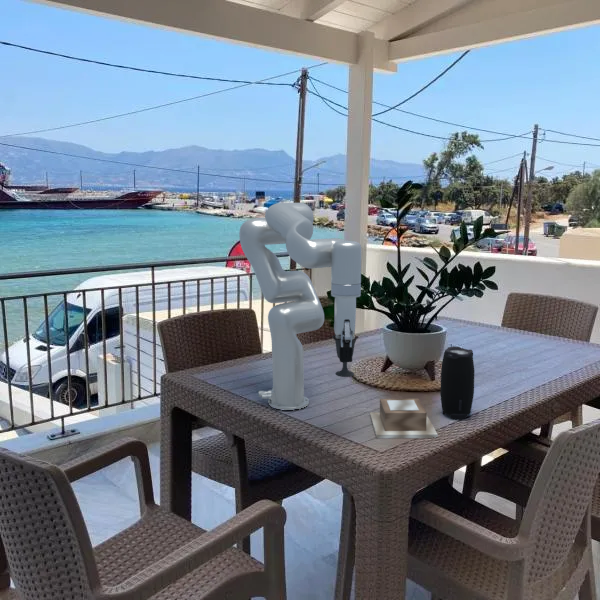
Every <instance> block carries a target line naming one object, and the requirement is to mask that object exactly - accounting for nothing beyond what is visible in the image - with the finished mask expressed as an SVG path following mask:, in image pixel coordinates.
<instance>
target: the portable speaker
mask: <svg viewBox="0 0 600 600" xmlns="http://www.w3.org/2000/svg"><path fill="white" fill-rule="evenodd" d="M440 368H441V371H440V402H441V404H440V405H441V409H442V415H443V416H445V415H447V416H449V418H450V419H452V420H454V419H455V421H457V419H459V420H458V421H462V419H463V420H466V418H467V417H468V416H469V415H471V412H472V408H473V401H474V396H475V365H474V353H473V350H472V349H466V348H463V347H460V346H454V345H453V346H450V347H447V348H446V349H445V350H444V353H443V357H442V362H441V367H440Z"/></svg>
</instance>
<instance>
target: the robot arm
mask: <svg viewBox="0 0 600 600" xmlns="http://www.w3.org/2000/svg"><path fill="white" fill-rule="evenodd" d="M314 220H315V219H314V212H313V210H312V208H311V207H310V206H309V205H308V204H307V203H303V202H278V203H274V204H272V205H270V206H269V207H268V208H267V209H266V211H265V214H264V217H253V218H250V219H247V220H245V221H244V222H243V223H242V224H241V226H240V228H239V243H240V246H241V250H242V252H243V254H244V256H245V257H246V259H247V260H248V262H249V264H250V265H251V267H252V269H253V271H254V273H255V277H256V280H257V282H258V285H259V287H260V291H261V294H262V296H263V298H264V299H265V300H266V302H268V303H270V304H276V305H274V306H273V307H271V308H270V310H269V312H268V313H267V314H268V315H267V323H268V326H269V331H270V338H271V355H272V356H271V357H272V358H271V360H272V361H271V362H272V364H271V365H272V366H271V367H272V368H271V369H272V388H271V389H268V390H258V397H259V398H261V399H262V400H268V401H267V404H268V403H269V405H271V406H272V407H275V408H278V409H284V410H293V409H299V410H302V409H301V408H303V409H304V407H305V408H306V406H307V407H308V406H309V405H310V399H309V398H308V397H307V396H305V387H304V385H305V376H304V375H305V374H304V372H305V371H304V369H305V367H304V364H305V363H304V362H305V361H304V346H303V344H302V343H301V342H302V341H300V339H299V337H298V336H297V334H301V333H306V332H308V333H309V332H313V331H317V330H319V329H320V328H321V327H322V326H323V325H324V322H325V312H324V309H323V305H322V303H321V301H320V298H319V296H318V294H317V292H316V289H315V287H314V283H313V282H312V280H311V278H310V277H309V275H308V274H307V273H306V272H304V271H302V270H291V271H290V270H289V271H287V270H284V269H283V266H282V265H281V262H280V260H279V258H278V256H277V255H276V254H275V253H274V252H273V251H271V250H270V249H269V248H268V247H266V246H268V245H270V246H272V245H284V244H285V248H286V252H287V255H288V256H289V257H290V259H291V260H293V261H294V262H295V263H297V264H298V265H299V266H301V267H302V268H305V269H310V270H311V269H313V270H314V269H320V268H321V269H323V268H330V269H331V271H330V272H331V273H330V274H331V275H330V277H331V278H330V280H331V281H330V282H331V283H330V285H331V286H330V296H331V297H333V298H334V307H333V308H334V316H333V318H334V320H333V322H334V323H333V330H334V331H333V332H334V335H337V336H338V335H341V346H340V359H339V362H340V363H343V362H347V363H352V362H353V356H352V336H353V335H355V333H356V319H357V314H356V313H357V298H360V297H361V296H362V294H361V293H362V291H361V290H362V284H361V283H362V246H361V243H360V242H358V241H354V240H345V239H343V238H338V237H337V238H336V237H334V238H315V239H314V238H313V239H311V238H312V237H313V234H314V225H313V223H314ZM342 333H345V335H342ZM343 337H344V338H345V339H343ZM269 405H268V406H269ZM293 411H294V410H293Z"/></svg>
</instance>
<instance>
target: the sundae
mask: <svg viewBox="0 0 600 600" xmlns="http://www.w3.org/2000/svg"><path fill="white" fill-rule="evenodd" d="M342 335H345V333H342ZM332 339H333V340H334V341H335V342H334V343H335V349H336V350H335V351H336V356H337V358H338V359H339V360H340V346H341V335H338V336H337V335H336V334H334V335H332ZM343 339H345V338H344V337H343ZM357 339H359V336H358V335H355V334H354V335H353V336H352V357H353V355H354V350H355V343H356V342H357ZM334 374H335V375H336V376H337V377H340V378H348V377H349V378H350V377H353V376H354V375H355V373H354V372H353V371H351V370H349V368H348V362H342V368H341V370H338V371H336V372H335V373H334Z"/></svg>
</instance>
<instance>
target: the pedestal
mask: <svg viewBox="0 0 600 600" xmlns="http://www.w3.org/2000/svg"><path fill="white" fill-rule="evenodd" d="M427 413H428V412H427V411H426V409H425V408H424V405H423V403H422V402H421V400H420V399H419V398H379V412H377V411H376V412H373V411H372V412H369V416H370V420H371V423H372V427H373V430H374V434H376V435H375V438H376V439H437V438H436V437H438V433H437V431H436V429H435V427H434V425H433V424H432V421H431V420H430V418H429V416H428V415H427ZM433 437H434V438H433ZM438 438H439V437H438Z"/></svg>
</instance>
